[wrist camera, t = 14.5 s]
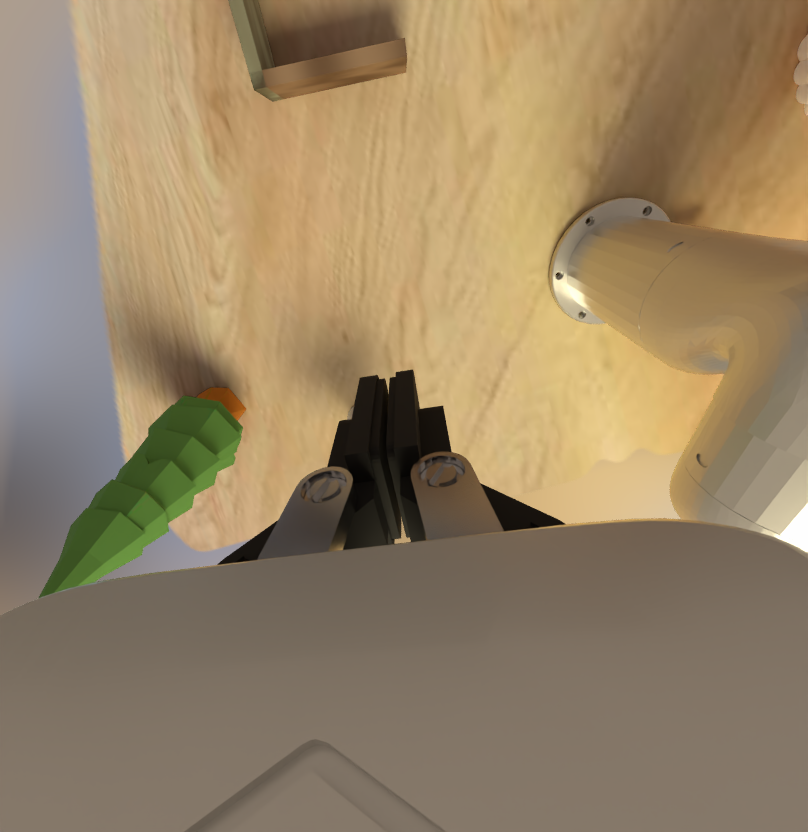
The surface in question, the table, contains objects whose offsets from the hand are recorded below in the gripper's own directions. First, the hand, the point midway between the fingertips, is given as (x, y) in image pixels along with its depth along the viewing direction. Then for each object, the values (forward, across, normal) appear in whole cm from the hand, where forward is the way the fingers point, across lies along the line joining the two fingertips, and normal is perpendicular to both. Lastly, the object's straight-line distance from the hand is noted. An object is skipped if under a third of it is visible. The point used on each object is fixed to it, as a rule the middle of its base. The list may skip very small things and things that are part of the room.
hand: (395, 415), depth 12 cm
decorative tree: (+33, +26, +15) cm, 45 cm away
